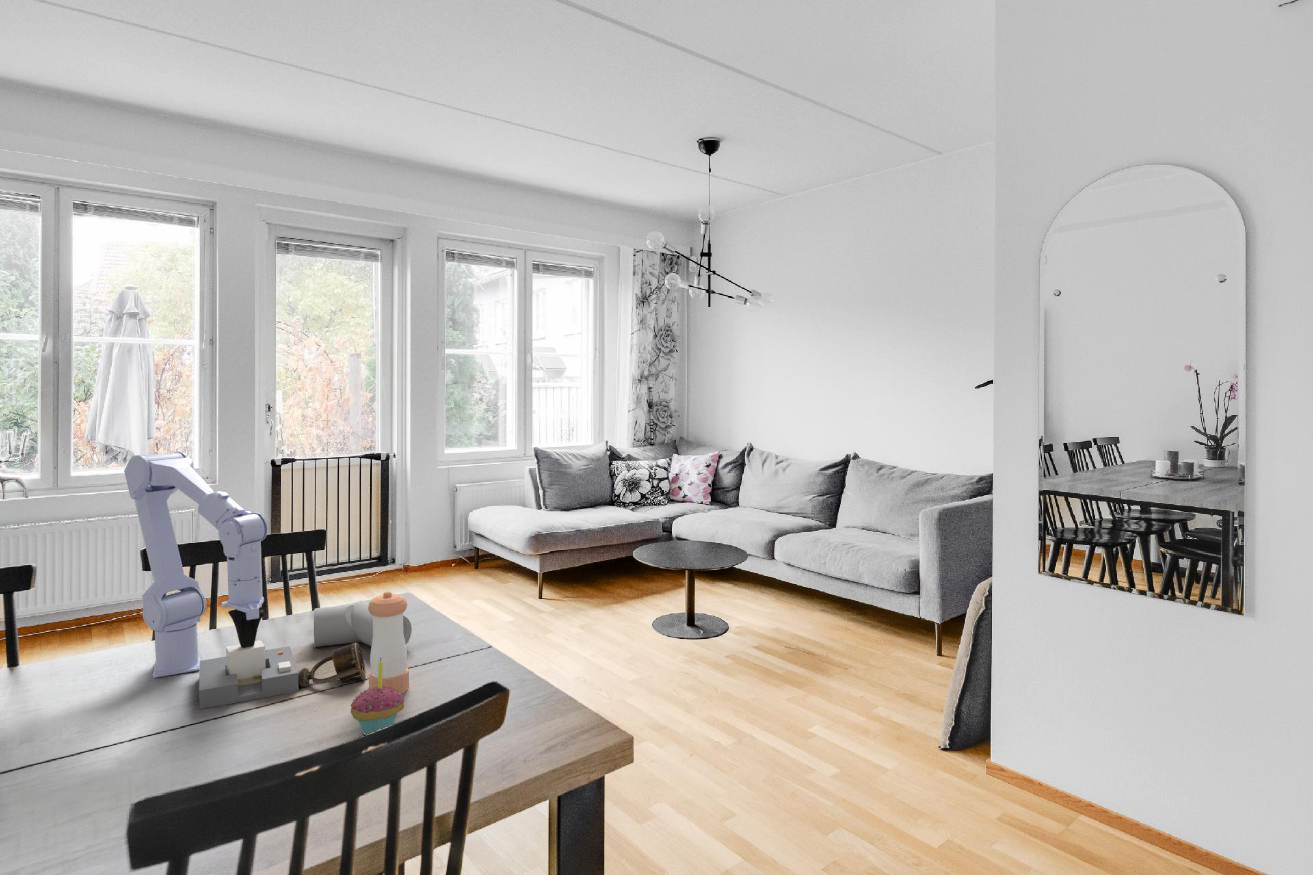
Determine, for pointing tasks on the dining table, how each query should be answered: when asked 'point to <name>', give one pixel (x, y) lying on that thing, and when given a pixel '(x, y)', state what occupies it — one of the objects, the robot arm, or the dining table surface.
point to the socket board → (247, 680)
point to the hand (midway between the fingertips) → (247, 646)
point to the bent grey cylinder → (348, 625)
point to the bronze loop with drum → (338, 666)
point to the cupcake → (377, 706)
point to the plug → (245, 660)
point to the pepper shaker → (389, 642)
